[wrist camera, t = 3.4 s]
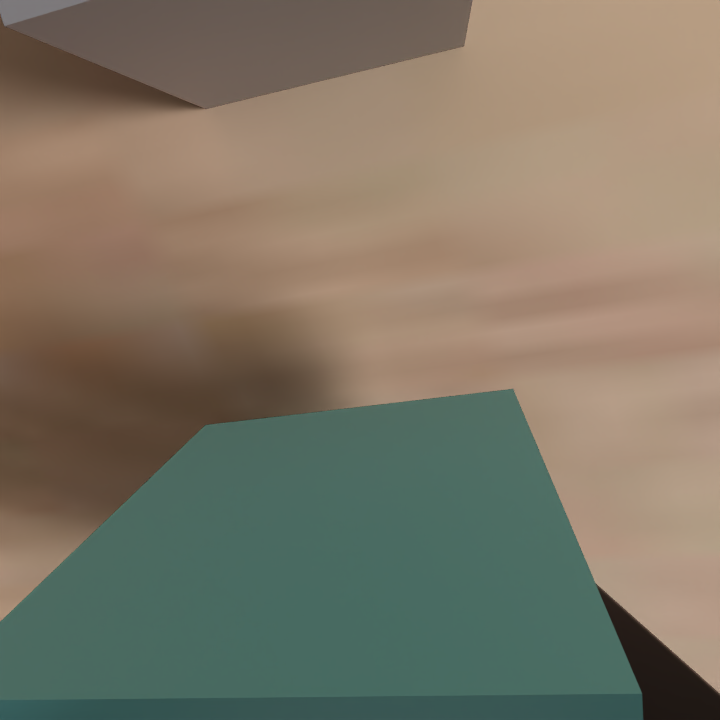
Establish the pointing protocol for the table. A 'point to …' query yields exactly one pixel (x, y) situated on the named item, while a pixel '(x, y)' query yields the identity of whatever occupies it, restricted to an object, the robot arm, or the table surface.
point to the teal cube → (329, 582)
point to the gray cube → (240, 39)
